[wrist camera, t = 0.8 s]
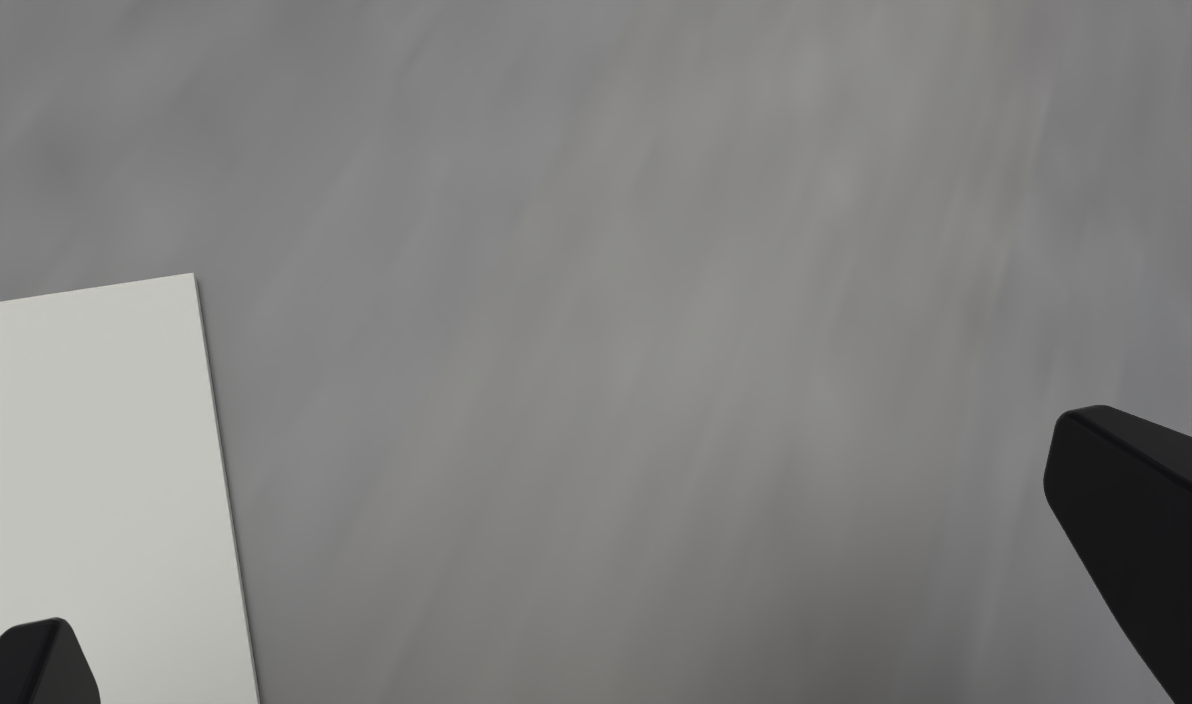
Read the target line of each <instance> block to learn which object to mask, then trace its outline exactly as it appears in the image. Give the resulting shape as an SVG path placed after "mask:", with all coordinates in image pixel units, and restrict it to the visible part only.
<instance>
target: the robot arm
mask: <svg viewBox="0 0 1192 704" xmlns="http://www.w3.org/2000/svg"><path fill="white" fill-rule="evenodd" d="M1043 484H1044V492H1045V496H1046V498H1047V501H1048V503H1049V505H1050V507H1051V509H1052V511H1053V512H1054V514H1055V516H1056V518H1057V519H1058V521H1059V523H1060V525H1061V526H1062V528H1063V530H1064V531H1065V533H1066V535H1067V537H1068V538H1069V540H1070V542H1071V543H1072V545H1073V547H1074V549H1075V550H1076V552H1077V554H1078V556H1079V557H1080V559H1081V561H1082V562H1083V564H1084V566H1085V568H1086V569H1087V571H1088V573H1089V574H1090V576H1091V578H1092V580H1093V581H1094V583H1095V585H1096V587H1097V588H1098V590H1099V592H1100V593H1101V595H1102V597H1103V599H1104V600H1105V602H1106V604H1107V605H1108V607H1109V609H1110V611H1111V612H1112V614H1113V616H1114V617H1115V619H1116V620H1117V622H1118V624H1119V625H1120V627H1121V628H1122V630H1123V632H1124V633H1125V635H1126V636H1127V638H1128V639H1129V641H1130V642H1131V644H1132V645H1133V646H1134V648H1135V649H1136V651H1137V652H1138V654H1139V655H1140V657H1141V658H1142V659H1143V661H1144V662H1145V663H1146V665H1147V666H1148V668H1149V669H1150V670H1151V672H1152V673H1153V674H1154V676H1155V677H1156V679H1157V680H1158V681H1159V683H1160V684H1161V686H1162V687H1163V688H1164V690H1165V691H1166V692H1167V694H1168V695H1169V697H1170V698H1171V699H1172V701H1173V702H1174V703H1175V704H1192V437H1190V436H1188V435H1185V434H1182V433H1180V432H1177V431H1174V430H1171V429H1169V428H1166V427H1163V426H1161V425H1158V424H1155V423H1153V422H1150V421H1147V420H1145V419H1142V418H1139V417H1137V416H1134V415H1131V414H1129V413H1126V412H1123V411H1121V410H1118V409H1115V408H1112V407H1110V406H1106V405H1094V406H1089V407H1084V408H1079V409H1074V410H1070V411H1067V412H1065V413H1063V414H1062V415H1061V416H1060V417H1059V419H1058V420H1057V421H1056V424H1055V428H1054V432H1053V437H1052V441H1051V446H1050V450H1049V455H1048V459H1047V463H1046V468H1045V472H1044V478H1043ZM0 704H101V699H100V693H99V689H98V685H97V683H96V680H95V678H94V676H93V673H92V671H91V669H90V666H89V664H88V662H87V660H86V657H85V655H84V653H83V651H82V648H81V646H80V644H79V642H78V639H77V637H76V635H75V633H74V630H73V629H72V627H71V625H70V624H69V623H68V622H67V621H66V620H65V619H63V618H59V617H53V618H48V619H43V620H38V621H33V622H28V623H23V624H19V625H15V626H13V627H10V628H9V629H7V630H6V631H5V632H4V633H3V634H2V635H1V636H0Z"/></svg>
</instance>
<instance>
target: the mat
mask: <svg viewBox="0 0 1192 704" xmlns="http://www.w3.org/2000/svg"><path fill="white" fill-rule="evenodd" d="M53 617H59V618H63V619H65V620H66V621H67V622H68V623H69V624H70V625H71V627H72V629H73V630H74V633H75V635H76V637H77V639H78V642H79V644H80V646H81V648H82V651H83V653H84V655H85V657H86V660H87V662H88V664H89V666H90V669H91V671H92V673H93V676H94V678H95V680H96V683H97V685H98V689H99V693H100V699H101V704H260V697H259V691H258V684H257V677H256V671H255V664H254V657H253V651H252V644H251V637H250V631H249V624H248V618H247V611H246V604H245V598H244V591H243V584H242V578H241V571H240V564H239V558H238V551H237V544H236V538H235V531H234V524H233V518H232V511H231V504H230V498H229V491H228V484H227V478H226V471H225V464H224V458H223V451H222V445H221V438H220V431H219V425H218V418H217V411H216V405H215V398H214V391H213V385H212V378H211V371H210V365H209V358H208V351H207V345H206V338H205V331H204V325H203V318H202V311H201V305H200V298H199V291H198V285H197V279H196V277H195V275H194V273H188V274H181V275H175V276H168V277H162V278H155V279H148V280H142V281H135V282H128V283H122V284H115V285H108V286H102V287H95V288H88V289H82V290H75V291H68V292H62V293H55V294H48V295H42V296H35V297H29V298H22V299H15V300H9V301H2V302H0V636H1V635H2V634H3V633H4V632H5V631H6V630H7V629H9V628H10V627H13V626H15V625H19V624H23V623H28V622H33V621H38V620H43V619H48V618H53Z"/></svg>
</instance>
